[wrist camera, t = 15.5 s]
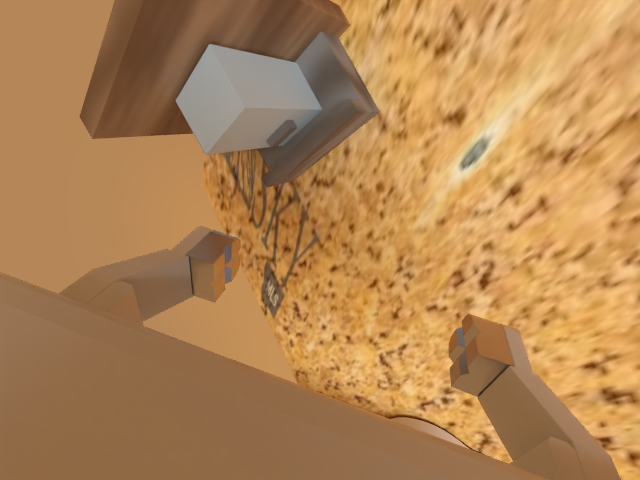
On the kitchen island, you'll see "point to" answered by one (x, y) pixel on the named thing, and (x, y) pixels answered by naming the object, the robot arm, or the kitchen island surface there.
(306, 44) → the wall board
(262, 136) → the grey box with notch
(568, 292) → the kitchen island surface
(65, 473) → the robot arm
